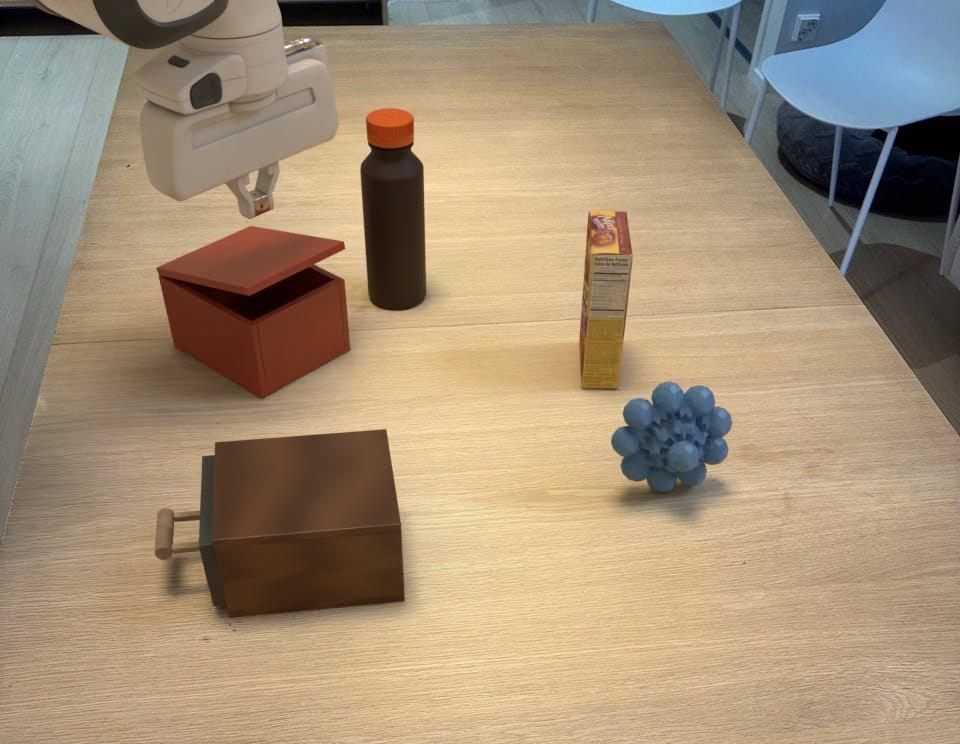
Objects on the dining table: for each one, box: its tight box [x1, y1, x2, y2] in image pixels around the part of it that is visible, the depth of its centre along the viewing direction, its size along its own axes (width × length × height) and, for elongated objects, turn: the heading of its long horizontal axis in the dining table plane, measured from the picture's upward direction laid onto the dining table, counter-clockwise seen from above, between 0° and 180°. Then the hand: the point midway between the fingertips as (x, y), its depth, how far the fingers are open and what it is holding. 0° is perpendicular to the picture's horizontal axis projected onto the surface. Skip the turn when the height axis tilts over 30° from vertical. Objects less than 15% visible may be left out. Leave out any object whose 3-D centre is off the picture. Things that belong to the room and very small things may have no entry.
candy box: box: [578, 210, 634, 390], centre depth 108 cm, size 9×4×15 cm, turn 178°
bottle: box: [359, 107, 427, 310], centre depth 116 cm, size 7×7×20 cm
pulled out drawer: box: [154, 454, 227, 607], centre depth 89 cm, size 18×11×7 cm, turn 99°
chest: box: [158, 264, 351, 399], centre depth 112 cm, size 15×13×8 cm
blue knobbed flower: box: [610, 381, 733, 494], centre depth 95 cm, size 12×7×12 cm, turn 103°
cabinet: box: [212, 428, 406, 618], centre depth 89 cm, size 15×13×9 cm
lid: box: [155, 225, 346, 296], centre depth 107 cm, size 15×13×1 cm
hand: (257, 212), depth 102 cm, fingers closed
